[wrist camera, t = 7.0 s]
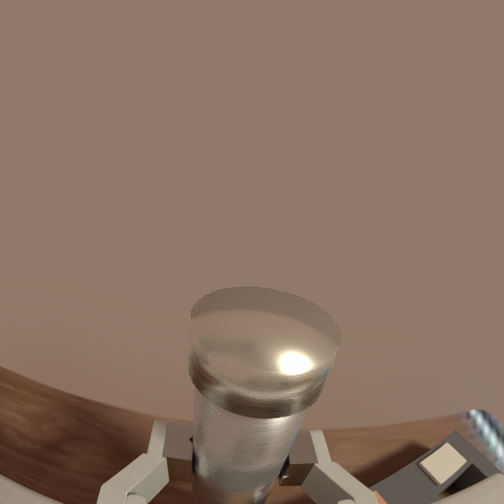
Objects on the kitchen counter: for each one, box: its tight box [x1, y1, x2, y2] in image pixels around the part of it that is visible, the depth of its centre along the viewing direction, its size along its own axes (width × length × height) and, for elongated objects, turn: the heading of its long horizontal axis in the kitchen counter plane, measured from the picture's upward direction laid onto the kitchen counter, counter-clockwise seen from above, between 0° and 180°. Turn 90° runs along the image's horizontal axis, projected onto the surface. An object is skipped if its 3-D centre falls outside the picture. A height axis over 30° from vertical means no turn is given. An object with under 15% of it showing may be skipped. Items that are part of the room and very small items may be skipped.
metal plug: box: [188, 287, 341, 504], centre depth 9 cm, size 4×4×14 cm
